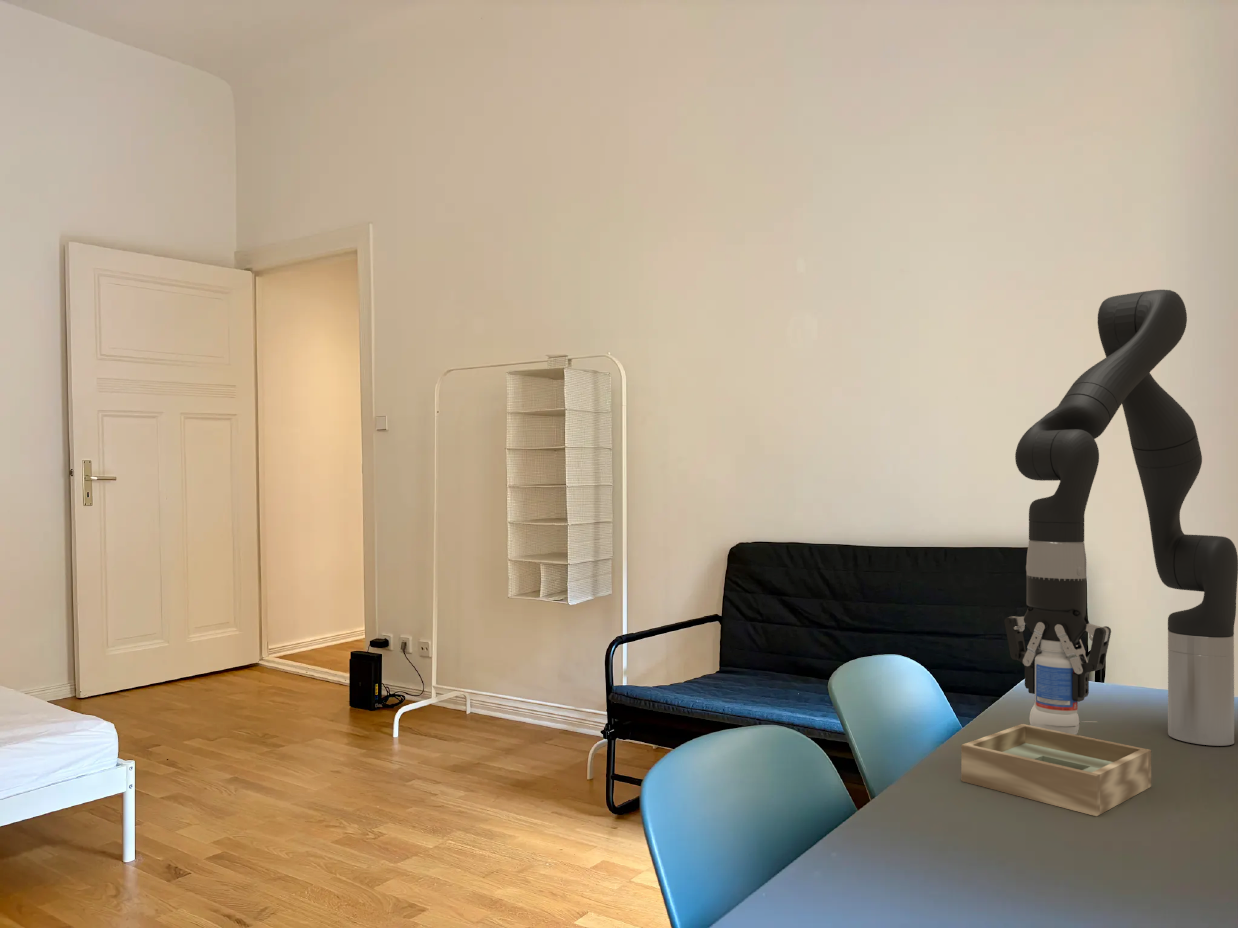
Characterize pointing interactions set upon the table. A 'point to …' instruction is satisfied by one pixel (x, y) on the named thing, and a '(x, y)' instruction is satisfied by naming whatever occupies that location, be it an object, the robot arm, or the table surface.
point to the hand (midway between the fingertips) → (1055, 695)
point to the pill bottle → (1054, 680)
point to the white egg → (1055, 721)
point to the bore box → (1057, 768)
